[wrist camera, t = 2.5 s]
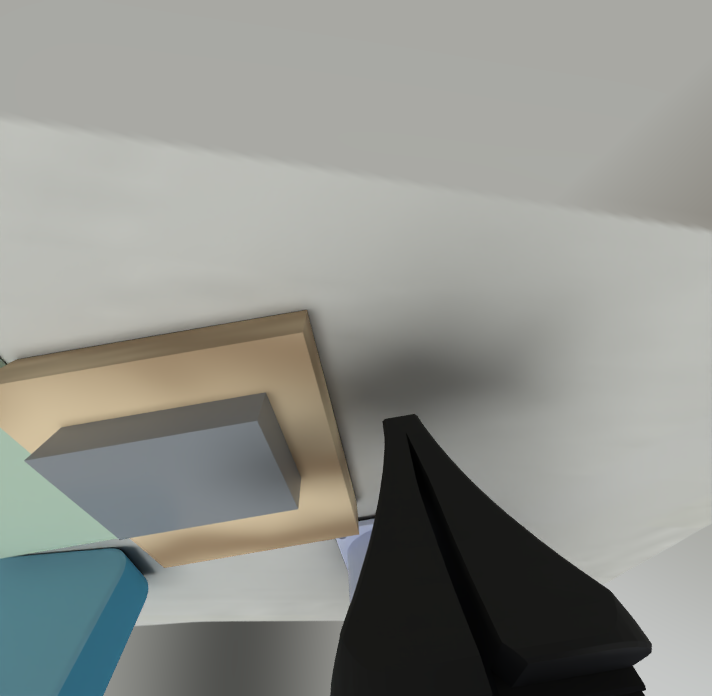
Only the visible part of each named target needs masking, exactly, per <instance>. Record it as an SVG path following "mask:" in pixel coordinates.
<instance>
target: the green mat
mask: <svg viewBox="0 0 712 696" xmlns="http://www.w3.org/2000/svg"><path fill="white" fill-rule="evenodd" d="M5 365H6V364H5V363H4V362H3V361H2V360H1V359H0V368H2V367H3V366H5ZM30 455H31V453H29V452H28V451H27V450H26V449H25V448H24V447H22V446H21V445H20V444H19V443H18V442H16V441H15V440H14V439H13V438H12V437H11V436H9V435H8V434H7V433H6V432H5V431H4V430H2V429H1V428H0V559H1V558H7V557H13V556H18V555H24V554H30V553H36V552H42V551H48V550H53V549H59V548H65V547H71V546H77V545H83V544H88V543H94V542H100V541H106V540H112V539H117V537H116V536H115V535H113V534H112V533H111V532H110V531H108V530H107V529H106V528H105V527H104V526H102V525H101V524H100V523H99V522H98V521H96V520H95V519H94V518H93V517H91V516H90V515H89V514H88V513H87V512H85V511H84V510H83V509H82V508H81V507H79V506H78V505H77V504H76V503H74V502H73V501H72V500H71V499H70V498H68V497H67V496H66V495H65V494H63V493H62V492H61V491H60V490H59V489H57V488H56V487H55V486H54V485H53V484H51V483H50V482H49V481H48V480H46V479H45V478H44V477H43V476H42V475H40V474H39V473H38V472H37V471H36V470H34V469H33V468H32V467H31V466H29V465H28V464H27V463H26V462H25V461H24V460H25V459H26V458H27V457H29V456H30Z"/></svg>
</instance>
